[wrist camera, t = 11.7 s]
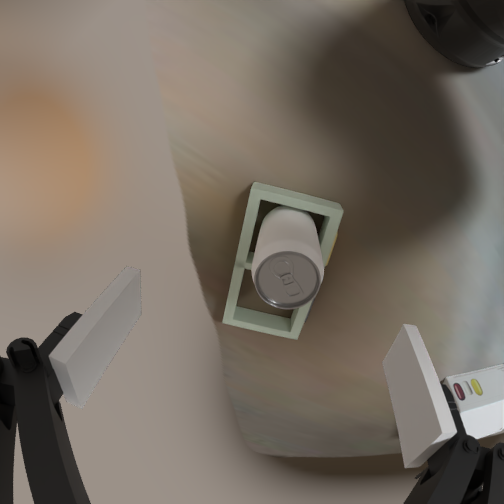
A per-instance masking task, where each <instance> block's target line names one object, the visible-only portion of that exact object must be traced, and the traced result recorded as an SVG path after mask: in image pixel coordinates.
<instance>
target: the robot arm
mask: <svg viewBox="0 0 504 504" xmlns="http://www.w3.org/2000/svg"><path fill="white" fill-rule="evenodd" d="M405 3H406V6H407V9H408V12H409V14H410V16H411V18H412V20H413V22H414V24H415V25H416V27H417V28H418V30H419V31H420V33H421V34H422V35H423V36H424V38H425V39H426V40H427V41H428V42H429V43H430V44H431V45H432V46H433V47H434V48H435V49H436V50H437V51H439V52H440V53H441V54H443V55H444V56H445V57H447V58H448V59H450V60H452V61H454V62H456V63H458V64H461V65H464V66H468V67H486V66H492V65H495V64H497V63H499V62H501V61H502V60H503V59H504V0H405ZM141 314H142V312H141V276H140V269H136V268H132V267H128V266H126V267H125V268H124V270H123V271H122V272H121V273H120V274H119V275H118V276H117V277H116V278H115V279H114V280H113V282H112V283H111V284H110V285H109V286H108V287H107V288H106V289H105V290H104V291H103V292H102V294H101V295H100V296H99V297H98V298H97V299H96V300H95V301H94V303H93V304H92V305H91V306H90V307H89V308H88V309H87V311H86V312H85V313H84V314H83V315H82V314H79V313H76V312H74V313H72V314H70V315H68V316H66V317H65V318H64V319H63V320H62V321H61V322H60V323H59V325H58V326H57V327H56V328H55V329H54V330H53V332H52V333H51V334H50V335H49V336H48V337H47V338H46V339H45V341H44V342H43V343H42V344H41V345H40V346H39V348H37V345H36V343H35V342H34V341H33V340H32V339H29V338H19V339H16V340H14V341H13V342H11V343H10V344H9V346H8V347H7V351H6V353H7V355H8V358H9V359H8V358H3V357H0V504H13V466H14V449H15V437H16V427H17V423H18V430H19V437H20V443H21V448H22V454H23V459H24V464H25V469H26V473H27V477H28V481H29V486H30V490H31V493H32V497H33V500H34V504H91V503H90V501H89V498H88V495H87V493H86V490H85V487H84V485H83V482H82V479H81V476H80V473H79V470H78V467H77V465H76V461H75V458H74V455H73V451H72V448H71V444H70V441H69V437H68V434H67V430H66V426H65V422H64V417H63V414H62V409H61V404H60V402H59V399H60V398H61V396H62V395H64V397H65V399H66V402H68V403H70V404H72V405H74V406H76V407H79V408H81V409H82V408H83V406H84V405H85V403H86V402H87V400H88V398H89V397H90V395H91V393H92V391H93V390H94V388H95V386H96V385H97V383H98V382H99V380H100V378H101V377H102V375H103V374H104V371H105V370H106V369H107V367H108V365H109V364H110V362H111V361H112V359H113V357H114V356H115V354H116V353H117V351H118V350H119V348H120V346H121V345H122V343H123V342H124V340H125V339H126V337H127V335H128V334H129V333H130V331H131V330H132V328H133V326H134V325H135V323H136V322H137V320H138V319H139V317H140V316H141ZM382 364H383V368H384V372H385V376H386V380H387V384H388V388H389V392H390V397H391V401H392V405H393V410H394V414H395V419H396V424H397V429H398V433H399V439H400V444H401V449H402V455H403V460H404V466H405V468H411V467H420V466H421V465H422V464H423V463H424V462H426V461H428V465H429V466H428V467H427V468H426V469H424V470H423V471H422V472H421V473H419V474H418V475H417V476H416V477H415V478H416V479H417V478H419V477H420V476H421V477H420V478H419V480H418V482H417V484H416V485H415V487H414V488H413V490H412V491H411V493H410V495H409V496H408V498H407V499H406V501H405V502H404V504H504V443H498V444H496V445H495V446H494V447H493V448H492V449H489V448H485V447H480V444H479V442H478V441H477V439H475V438H474V437H473V436H470V435H467V433H466V430H465V427H464V425H463V422H462V419H461V416H460V413H459V410H457V409H458V408H457V405H456V403H455V400H454V397H453V395H452V392H451V391H450V390H449V388H448V387H447V386H446V385H445V384H440V382H439V379H438V377H437V374H436V372H435V369H434V367H433V364H432V362H431V359H430V357H429V355H428V352H427V350H426V347H425V345H424V343H423V340H422V338H421V336H420V334H419V331H418V329H417V327H416V325H409V324H403V326H402V327H401V329H400V331H399V333H398V335H397V337H396V339H395V341H394V342H393V344H392V346H391V348H390V350H389V351H388V353H387V355H386V357H385V358H384V360H383V362H382ZM482 486H483V489H482Z"/></svg>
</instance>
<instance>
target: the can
mask: <svg viewBox="0 0 504 504" xmlns="http://www.w3.org/2000/svg"><path fill="white" fill-rule="evenodd" d="M323 276H324V265H323V259H322V254H321V249H320V244H319V240H318V235H317V231H316V227H315V223H314V221H313V219H312V217H311V216H310V215H309V213H307V212H306V211H305V210H302V209H298V208H294V207H290V206H286V205H282V206H279V207H276V208H275V209H273V210H271V211H270V212H269V213H268V214H267V215H266V216H265V218H264V219H263V222H262V224H261V228H260V232H259V236H258V240H257V244H256V249H255V253H254V257H253V262H252V279H253V282H254V285H255V289H256V291H257V293H258V295H259V296H260V297H261V299H262V300H263V301H265V302H266V303H267V304H269V305H271V306H273V307H276V308H279V309H296V308H300V307H302V306H304V305H306V304H308V303H309V302H310V301H312V300H313V299H314V298H315V296H316V295H317V293H318V291H319V289H320V285H321V283H322V280H323Z"/></svg>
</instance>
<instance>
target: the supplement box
mask: <svg viewBox="0 0 504 504" xmlns="http://www.w3.org/2000/svg"><path fill="white" fill-rule="evenodd" d="M443 384H445V385H446V386H447V387H448V388H449V390H450V391H451V392H452V395H453V397H454V400H455V403H456V405H457V408H458V409H457V410H459V413H460V416H461V419H462V422H463V425H464V427H465V430H466V433H467V435H470V436H473V437H474V438H475V439H479V438H482V437H485V436H488V435H491V434H493V433H496V432H500V431H502V430H503V428H504V364H500V365H496V366H493V367H489V368H485V369H481V370H476V371H472V372H468V373H463V374H458V375H454V376H449V377H446V378H445V380H444V382H443Z"/></svg>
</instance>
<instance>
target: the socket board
mask: <svg viewBox="0 0 504 504" xmlns="http://www.w3.org/2000/svg"><path fill="white" fill-rule="evenodd" d="M261 200H266V201H270V202H274V203H278V204H282V205H286V206H290V207H294V208H298V209H302V210H306V211H310V212H313V213H317V214H321V215H325V217H324V220H323V224H322V227H321V230H320V233H319V236H318V240H319V244H320V249H321V254H322V259H323V265H324V268H325V265H326V266H327V264H328V262H329V259H330V256H331V253H332V250H333V247H334V244H335V241H336V239H337V236H338V233H337V230H338V227H339V224H340V221H341V218H342V215H343V212H344V211H343V209H342V207H341V205H340V203H337V202H333V201H329V200H326V199H322V198H318V197H314V196H311V195H307V194H303V193H299V192H295V191H291V190H287V189H283V188H279V187H275V186H271V185H267V184H263V183H258V182H254V183H253V185H252V187H251V191H250V196H249V200H248V205H247V209H246V214H245V218H244V223H243V227H242V232H241V237H240V241H239V246H238V251H237V255H236V260H235V265H234V269H233V274H232V279H231V284H230V288H229V293H228V298H227V303H226V307H225V312H224V317H223V322H222V323H225V324H229V325H233V326H237V327H241V328H245V329H250V330H254V331H258V332H263V333H267V334H272V335H276V336H281V337H286V338H291V339H295V340H297V339H298V336H299V334H300V331H301V329H302V326H303V324H304V322H306V320H307V318H308V315H309V313H310V310H311V307H312V305H313V302H314V300H315V298H314V299H313V300H312V301H310V302H309V303H308V304H306V305H304V306H302V307H300V308H296V309H294V311H293V313H292V316H291V319H290V318H286V317H281V316H277V315H272V314H268V313H264V312H259V311H255V310H251V309H247V308H242V307H238V306H236V305H237V300H238V296H239V292H240V287H241V283H242V279H243V274H244V270H245V269H249V270H252V262H253V257H254V252H250V251H249V249H250V244H251V240H252V236H253V231H254V227H255V223H256V219H257V214H258V210H259V206H260V201H261Z"/></svg>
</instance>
